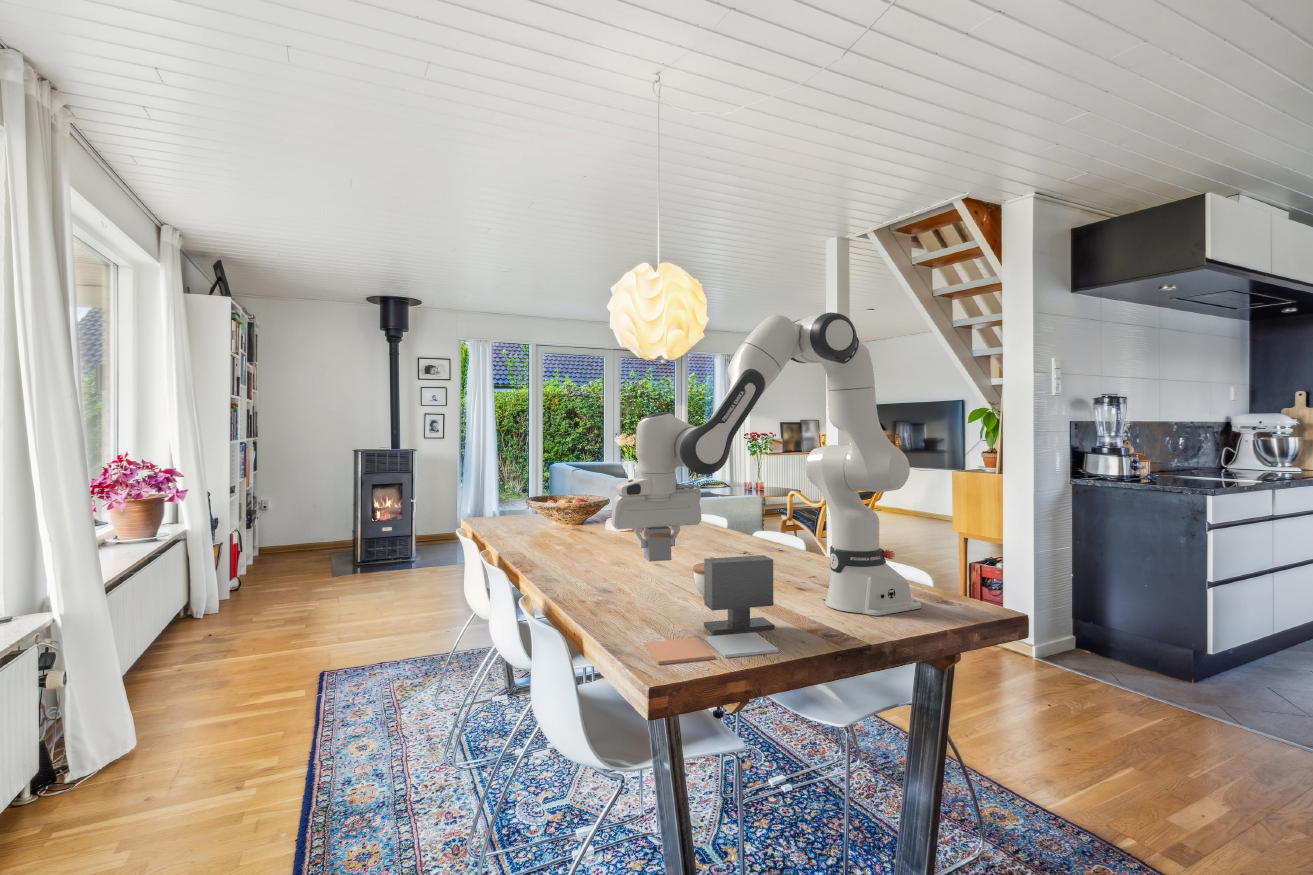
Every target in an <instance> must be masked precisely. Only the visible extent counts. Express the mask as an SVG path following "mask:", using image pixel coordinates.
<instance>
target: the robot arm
mask: <svg viewBox="0 0 1313 875" xmlns="http://www.w3.org/2000/svg"><path fill="white" fill-rule="evenodd" d="M790 360H791V361H794V362H795V363H799V364H810V363H811V364H819V363H821V364H822V366H823V368H824V370H825V374H826V386H827V387H826V389H827V390H826V391H827V407H828V419H829V422H830V423H831V425H832V426H833V427H834V428H836V429H837V430H839V431H841V432H842V433H843V434H844V435H845V436H846V437H847V438H848V440H849V443H850V445H847V444H845V445H843V444H839V445H837V444H830V445H825V446H820V447H817V448H813V449H812V450H811V451H810V452H809V454H808V455H807V458H806V460H805V468H804V469H805V474H806V476H807V479H808V480H809V482H810V483H811V484H812V485H813V486H815V487H816V488H817V489H818V491H819V492H820V493H821V494H822V496H823V498H824V500H825V503H826V505H827V507H828V509H829V510H828V511H829V514H830V515H829V516H830V522H831V525H830V526H831V545H830V547H829V549H830V550H829V566H830V578H829V584H828V590H827V595H826V598H825V602H824V604H825V605H826V606H827V607H829V608H831V609H834V610H837V611H841V612H847V613H848V612H849V613H854V614H855V613H856V614H857V613H858V614H865V615H869V616H875V617H876V616H883V615H884V616H885V615H890V614H894V613H901V612H908V611H913V610H918V609H922V603H921V602H920V601H919V600H918V599H916V598H914V597H912V595H911V594H912V592H911V588H910V584H909V582H908V580H907V579H906V578H905V577H904V576H903V575H901V574H900V573H899V572H897V571H896V570H895V569H893V567H891V566H890V565H889V564H888V563H887V561H886V560H887V559H888V560H894V558H895V552H894V551H893V550H889V549H885V550H884V549H882V548H881V547H880V519H879V516H878V514H877V513H876V511H874V510H873V509H872V508H871V507H869V506H867V505H866V504H865V503H864V502H863V501H862V498H861V496H860V493H859V492H873V493H874V492H875V493H885V492H892V491H898V490H900V489H902V487H904V486H905V485H906V483H907V481H908V479H909V476H910V473H911V467H910V462H909V459H908V457H907V456H906V454H905V453H904V452H903V451H902V449H899V448H898V447H896V445H895V444H894V443H892V441H890V439H889V437H888V436H887V434H886V433H885V431H884V429H883V428H882V426H881V422H880V419H879V414H878V408H877V396H876V384H875V383H876V381H875V374H874V367H873V362H872V357H871V354H870V351H869V349H868V347H867V346H866V345H865V344H863V343H860V340H859V338H858V336H857V330H856V328H855V325H854V323H853V322H852V321H851V320H850V317H847V316H846V315H844V314H842V313H839V312H825V313H818V314H813V315H810V316H807V317H805V318H802V319H798V320H794V321H792V320H791V319H790V318H788V317H787V316H785V315H782V314H771V315H769V316H767V317H765V319H763V320H762V321H761V322H760V323H759V324H758V325H757V326H756V327H755V328H754V329H753V330H752V331H751V332H750V333H749V334H748V336H747V337H746V338H745V339H744V340H743V342H742V343H741V344H740V345H739V347H738V348H737V350H736V351H735V353H734V355H733V356H732V358H731V360H730V363H729V364H728V366H727V377H728V380H729V388H728V391H727V393H726V394H725V396H724V397H723V399H722V400H721V402H720V403H719V404H718V406H717V408H716V409H715V411H714V412H713V413H712V415H711V417H709V419H708V420H707V421H706V422H704V423H703V424H702V425H700V426H695V425H692V424H691V423H690V424H689V423H687V422H685V421H683V420H681V419H679V418H678V417H676V416H674V414H672V413H671V412H668V411H665V412H663V411H662V412H657V413H652V414H651V413H650V414H648V415H645V416H643V417H641V419H639V420H638V423H637V426H636V433H635V455H636V458H637V467H636V472H635V474H636V475H635V476H636V477H633V478H631V479H628V480H626V481H622V482H619V483H617V484H616V487H615V490H616V491H615V492H616V493H617V495H616V496H615V497H614V499H613V502H612V507H611V525H612V526H613V527H614V528H615V529H616V530H631V529H633V531H634V534H635V536H636V537H637V539H638V545H639V548H640V549H644V548H647V540H646V539H644V537H642V534H643V529H644V528H651V527H671V531H672V532H671V547H676V538H677V536H678V535H679V533H680V531H681V526H683V527H684V526H698V525H700V523H701V522H702V510H701V503H700V501H701V498H702V497H701V496H702V495H701V494H702V493H701V489H700V487H699V486H697V485H696V484H694V483H688V484H687V483H686V484H683V483H679V484H677V477H676V476H677V474H676V473H677V472H676V471H677V470H676V469H677V468H679V467H683V468H685V469H688V470H690V471H692V472H693V473H695V474H699V475H704V476H705V475H712V474H714V473H716V472H718V471H719V470H721V469H722V468H723V467H724V466H725V464H726V463H727V461H728V459H729V456H730V451H731V446H732V443H733V440H734V438H735V436H736V434H737V432H738V431H739V429H740V428H741V427H742V425H743V424H744V422H745V420H746V419H747V417H748V416H749V414H750V413H751V411H752V410H753V408H754V406H755V405H756V404H757V402H758V400H759V399H760V398H761V397H762V396H763V394H764V393H765V392H766V391H767V389H768V388H770V386H771V385H772V384H773V382H774V381H775V380H776V379H777V378H778V376H779V375H780V374H781V372H782V370H784V368H785V366H786V365H787V364H788V362H789V361H790Z"/></svg>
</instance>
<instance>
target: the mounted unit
mask: <svg viewBox="0 0 1313 875" xmlns="http://www.w3.org/2000/svg"><path fill="white" fill-rule="evenodd" d="M703 563H704V597H703V598H704V602H703V604H704V605H705V606H706V607H707V608H708V609H709V610H711V611H713V612H715V611H722V610H723V611H724V610H726V611H727V620H726V619H724V620H713V621H704V622H703V628H704V629H706V630H707V631H708V632H709V633H710V634H712V636H720V635H731V634H742V633H753V632H759V631H773V630H774V631H775V624H774V623H773V622H771V621H770V620H768V619H767V618H765V617H763V616H760V617H751V608H763V607H773V606H774V559H773V558H771V557H768V556H766V555H762V554H761V555H745V556H729V557H712V558H709V557H707V558H704V561H703Z"/></svg>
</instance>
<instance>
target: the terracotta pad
mask: <svg viewBox="0 0 1313 875" xmlns="http://www.w3.org/2000/svg"><path fill="white" fill-rule="evenodd" d="M643 645H644V647H645V648H646V650H647V651H648V652H649V654H650V655H651V657H652V658H653V659H654V661H655V663H656V664H657V665H666V664H667V665H669V664H675V663H676V664H678V663H688V662H697V661H706V660H707V661H708V660H715V659H716V656H715V654H714V653H713V652H712V651H711V650H710V649H709V648H707V646H706V645H704V644H703V643H702V641H700V640H699V639H698V638H697V637H690V638H689V637H688V638H677V639H668V640H667V639H666V640H658V641H656V640H655V641H646V642H644V643H643Z"/></svg>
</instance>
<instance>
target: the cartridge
mask: <svg viewBox="0 0 1313 875" xmlns="http://www.w3.org/2000/svg"><path fill="white" fill-rule="evenodd" d="M671 535H672V529H671V528H670V526H668V527H651V528H643V539H646V540H647V548H643V558H644V559H646V560H647V561H648V562H663V561H664V562H665V561H672V546H671Z"/></svg>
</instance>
